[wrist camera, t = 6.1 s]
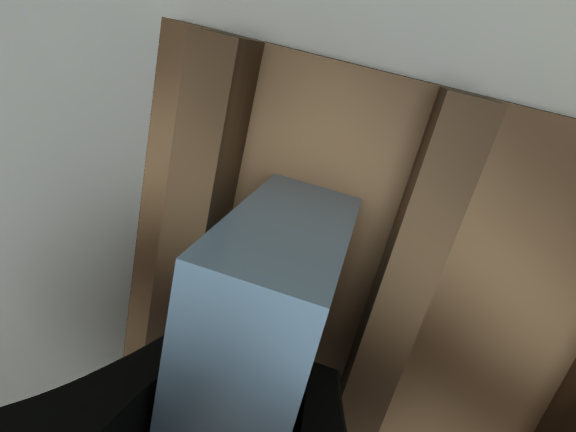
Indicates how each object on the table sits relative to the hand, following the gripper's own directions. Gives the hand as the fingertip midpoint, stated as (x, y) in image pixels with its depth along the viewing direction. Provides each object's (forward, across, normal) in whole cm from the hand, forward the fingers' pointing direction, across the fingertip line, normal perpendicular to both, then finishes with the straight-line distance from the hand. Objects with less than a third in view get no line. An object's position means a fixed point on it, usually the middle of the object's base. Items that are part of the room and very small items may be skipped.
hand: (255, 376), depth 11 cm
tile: (+3, 0, 0) cm, 3 cm away
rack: (+4, -3, 0) cm, 5 cm away
